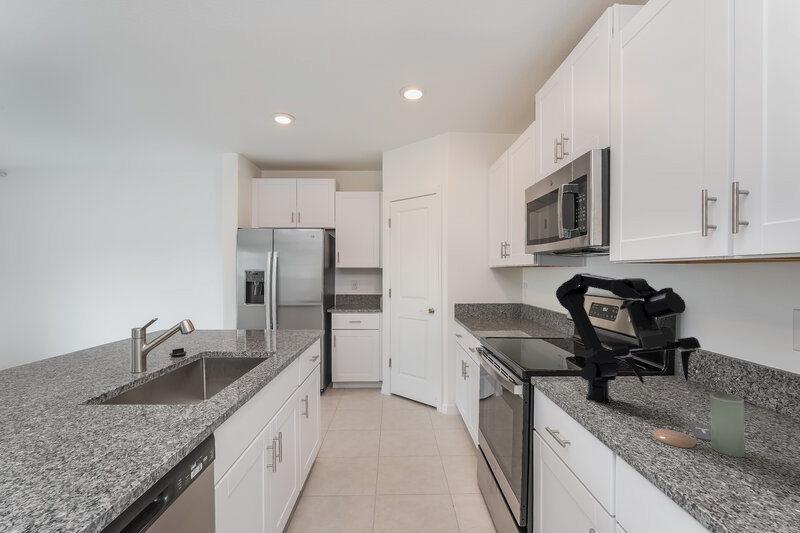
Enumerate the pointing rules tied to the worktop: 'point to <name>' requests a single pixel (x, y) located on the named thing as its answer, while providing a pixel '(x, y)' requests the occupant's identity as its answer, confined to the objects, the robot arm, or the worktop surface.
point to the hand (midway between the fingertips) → (664, 382)
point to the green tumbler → (727, 424)
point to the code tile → (701, 431)
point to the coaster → (674, 438)
